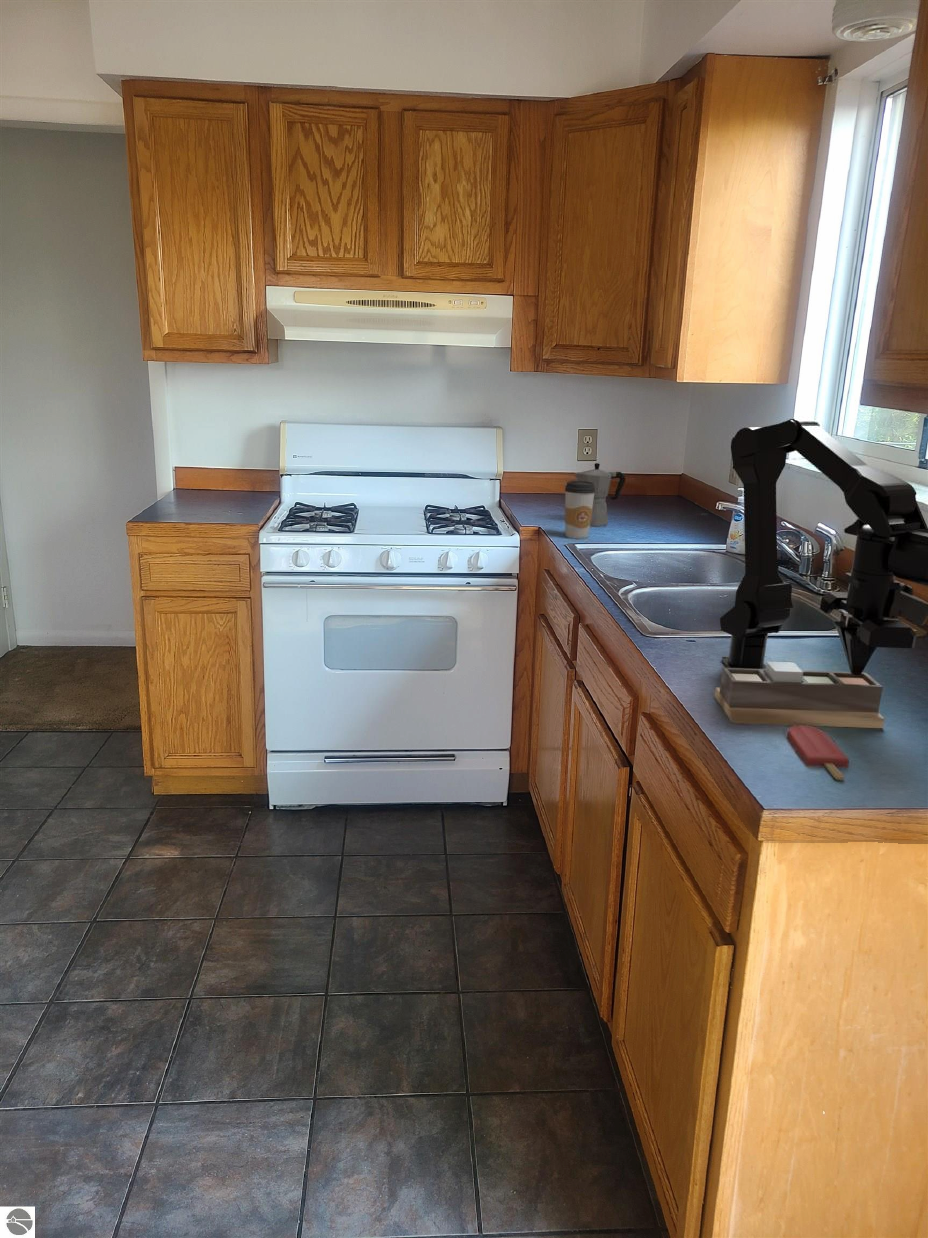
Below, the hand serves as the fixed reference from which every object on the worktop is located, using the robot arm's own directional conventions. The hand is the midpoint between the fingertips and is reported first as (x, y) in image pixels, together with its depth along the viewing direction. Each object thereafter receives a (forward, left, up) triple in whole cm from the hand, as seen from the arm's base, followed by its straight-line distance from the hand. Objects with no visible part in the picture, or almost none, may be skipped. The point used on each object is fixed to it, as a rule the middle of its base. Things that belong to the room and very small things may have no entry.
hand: (855, 674), depth 131 cm
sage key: (0, -5, -4) cm, 7 cm away
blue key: (0, -10, -2) cm, 11 cm away
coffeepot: (-142, -19, -6) cm, 143 cm away
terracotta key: (0, 0, -4) cm, 4 cm away
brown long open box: (0, -8, -6) cm, 10 cm away
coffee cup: (-122, -27, -6) cm, 125 cm away
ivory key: (0, -16, -4) cm, 16 cm away
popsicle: (+15, -10, -7) cm, 19 cm away
